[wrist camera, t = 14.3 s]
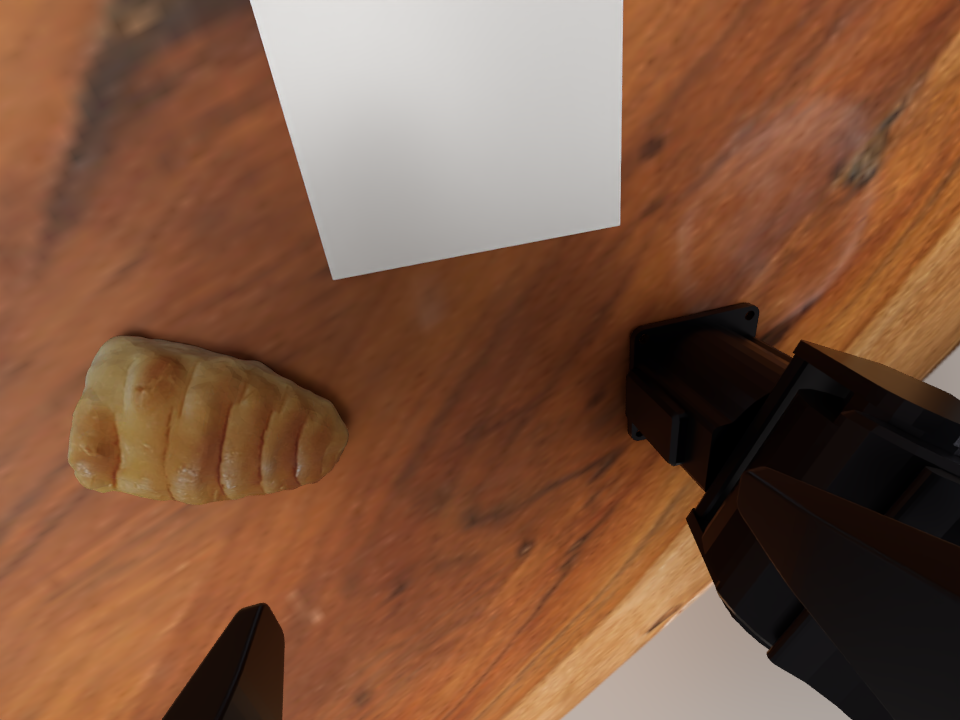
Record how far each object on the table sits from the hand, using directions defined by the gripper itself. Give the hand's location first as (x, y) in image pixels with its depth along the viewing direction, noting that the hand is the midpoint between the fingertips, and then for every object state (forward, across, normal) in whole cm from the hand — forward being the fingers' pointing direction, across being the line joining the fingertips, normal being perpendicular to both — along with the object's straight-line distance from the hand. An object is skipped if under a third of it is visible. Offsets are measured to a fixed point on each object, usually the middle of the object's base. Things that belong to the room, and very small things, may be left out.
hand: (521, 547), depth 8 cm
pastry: (+13, +10, +2) cm, 16 cm away
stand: (+12, -2, -8) cm, 15 cm away
